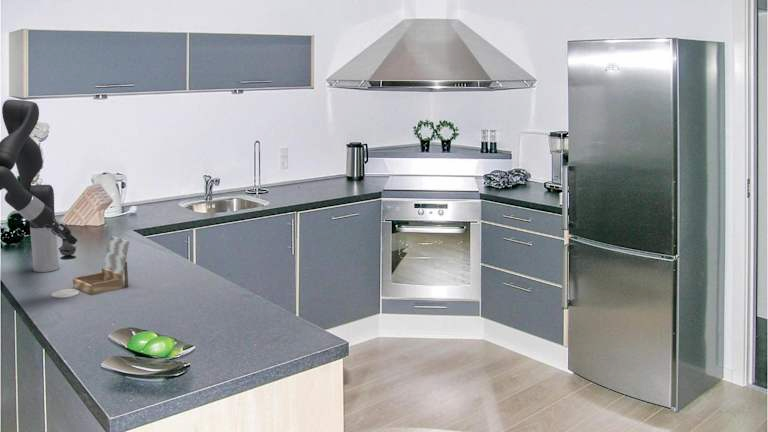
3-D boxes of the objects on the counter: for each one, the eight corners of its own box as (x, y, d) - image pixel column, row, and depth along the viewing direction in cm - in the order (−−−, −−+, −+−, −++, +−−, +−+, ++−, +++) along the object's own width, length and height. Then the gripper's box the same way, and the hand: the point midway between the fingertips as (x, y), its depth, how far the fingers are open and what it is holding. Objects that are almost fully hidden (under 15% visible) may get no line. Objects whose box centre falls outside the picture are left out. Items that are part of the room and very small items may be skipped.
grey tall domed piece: (58, 260, 281) (55, 225, 279) (59, 256, 287) (57, 222, 285) (76, 259, 283) (74, 224, 281) (77, 255, 288) (75, 221, 286)
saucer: (47, 294, 286) (47, 292, 286) (72, 289, 292) (72, 287, 292) (58, 299, 280) (58, 297, 280) (83, 294, 286) (83, 292, 286)
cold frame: (73, 287, 295) (69, 241, 292) (113, 279, 306) (110, 235, 303) (91, 294, 285) (87, 247, 282) (132, 286, 296) (129, 240, 293)
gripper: (51, 204, 271) (89, 235, 282) (33, 200, 281) (70, 230, 292) (36, 222, 268) (75, 253, 279) (18, 217, 278) (56, 247, 289)
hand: (72, 241), depth 285 cm, fingers closed on grey tall domed piece, 3 cm apart
